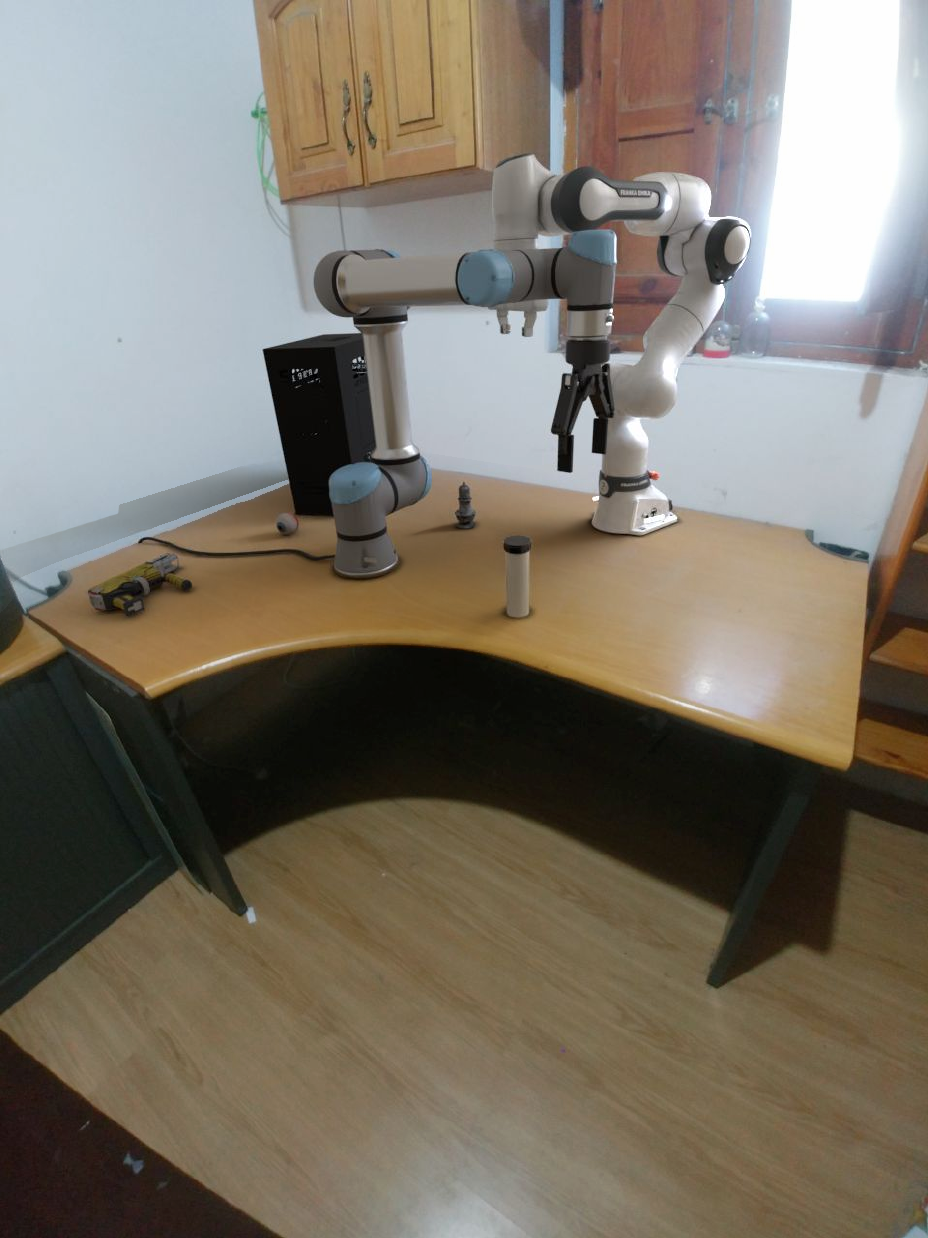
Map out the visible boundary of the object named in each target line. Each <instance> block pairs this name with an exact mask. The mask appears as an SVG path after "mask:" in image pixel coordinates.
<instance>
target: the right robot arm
mask: <svg viewBox="0 0 928 1238" xmlns="http://www.w3.org/2000/svg"><path fill="white" fill-rule="evenodd" d="M711 200H712V194H711V189H710V186H709V185H708V183H707V182H706V181H705V180H704V179H703V178H701V177H698V176H695V175H692V174H689V173H682V172H675V171H673V172H672V171H660V172H659V171H658V172H651V173H646V174H641V175H640V176H637V177H635V178H633V179H632V180H624V179H623V180H621V179H613V178H610V177H609V176H607V175H606V174H604V173H603V172H601V171H600V170H599V169H596V168H594V167H592V166H585V165H584V166H579V167H577V168H575V169H573V170H569V171H568V172H566V173H565V172H564V173H562V174H559V175H558V174H556V173H554V172H552V171H551V170H549V169H547V168H546V167H545V166H543V165H542V163H540V161H539V160H538V159H537V157H536V156H535V153H531V152H525V153H520V154H517V155H513V156H509V157H507V158H504V159H501V160H500V161H499V162H497V164H496V165H495V167H494V170H493V174H492V183H491V216H492V220H493V227H494V228H493V235H492V249H493V250H525V249H539V236H542V237H546V238H547V237H549V238H550V237H557V236H558V237H560V236H566V235H567V236H568V235H571V234H572V233H573V232H578V231H586V230H598V228H600V227H602V226H603V225H605V224H606V223H608V222H623V224H624V226H625V227H626V230H628V232H629V233H631V234H634V235H639V236H645V237H658V242H657V248H656V259H657V264H658V267H659V269H660V270H661V271H662V272H663V273H664V274H666V275H669V276H672V277H682V279H681V283H680V285H679V287H678V289H677V291H676V292H675V294H674V295H673V296H672V297H671V298H670V300H669V301H668V302H667V303H666V305H665V306H664V307H663V308H662V310H661V311H660V313H659V314H658V315H657V316H656V318H655V319H654V320H653V322H652V323H651V324H650V326H649V327H647V330H646V331H645V332H644V335H643V337H642V345H643V350H644V351H643V353H642V356H641V358H640V359H639V360H638V361H637V363H635V364H625V363H619V362H615V363H614V362H613V363H609V364H610V379H611V386H612V393H613V399H614V406H615V411H614V417H613V418H608V432H607V447H606V454H601V468H600V470H599V474H598V492H599V493H598V496H593V497H592V500H593V501H597V502H596V507H595V511H594V514H593V517H592V520H591V525H592V526H593V527H594V528H595V529H597V530H599V531H601V532H605V533H611V534H623V535H625V534H626V535H632V536H633V535H634V536H645V535H646V534H650V533H652V532H654V531H657V530H660V529H662V528H665V527H668V526H670V525H672V524H675V523H677V522H678V516H677V515H676V514H675V513H674V512H672V511H673V507H674V506H673V500H671V499H670V498H668V497H667V496H666V495H665V494H664V493H663V492H661V491H660V490H659V489H658V488H656V487H655V486H654V485H652V483H651V480H653V481H658V479H659V478H660V473H659V472H657V471H654V470H651V471H649V470H648V469H647V466H648V458H649V457H648V455H649V446H650V441H649V437H648V435H647V434H646V432H645V431H644V429H643V427H642V424H641V420H656V419H662V418H664V417H666V416H667V415H669V413H670V412H671V411H672V410H673V408H674V406H675V405H676V402H677V399H678V395H679V389H678V388H679V387H678V383H677V377H678V373H679V371H680V368H681V366H682V365H683V363H684V361H685V359H686V358H687V357H688V355H689V354H690V353H691V352H692V350H693V348H694V347H695V346H696V345H697V343H698V342H699V340H701V338H702V337H703V336H704V335H705V333H706V331H707V330H708V328H709V327H710V325H711V324H712V322H713V321H714V319H715V318H716V316H717V315H718V313H719V311H720V309H721V307H722V305H723V303H724V300H725V288H724V285H725V284H727V283H729V282H730V281H732V280H733V279H734V278H735V275H736V274H737V271H738V270H739V269H740V268H741V267H742V265H743V263H744V262H745V260H746V258H747V256H748V254H749V252H750V249H751V243H752V231H751V228H750V225H749V224H748V223H747V222H746V221H745V220H743V219H741V218H738V217H736V216H724V217H710V215H709V210H710V207H711ZM549 303H550V299H544V300H532V301H524V302H516V303H507V304H500V305H496V306H493V307H487V309H488V310H492V311H496V318H497V321H498V323H499V324H498V325H499V333H500V335H510V334H511V324H509V318H508V316H509V312H523V318H524V323H523V326H522V327H521V336H522V337H523V338H531V337H533V335H534V326H535V324H536V320H537V318H538V316H537V315H538V314H537V313H540V312H546V311H547V310H548V308H549V307H548V306H549ZM608 406H609V404H608Z"/></svg>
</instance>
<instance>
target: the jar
mask: <svg viewBox="0 0 928 1238" xmlns="http://www.w3.org/2000/svg"><path fill="white" fill-rule="evenodd" d="M504 554H505V557H504V558H505V560H504V561H505V604H506V605H505V606H506V607H505V609H506V610H505V611H506V614H507V616H508V617H511V618H515V619H517V618H518V619H520V618H525V617H527V616H528V615H529V614H530V551H528V552H526V553H522V554H511V553H508V552H506V551H504Z"/></svg>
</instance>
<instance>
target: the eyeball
mask: <svg viewBox="0 0 928 1238" xmlns="http://www.w3.org/2000/svg"><path fill="white" fill-rule="evenodd" d="M299 525H300V522H299V519H298V517H297V516H296V515H295V513H292V512H287V511H286V512H282V513H280V514H279V515H278V516H277V517H276V520H275V527H276V529H277V530H278V531H279V532H280V533H281V534H282V535H285V536H286V535H287V536H289V535H293V534H295V533H296V532H297V531H298V529H299Z"/></svg>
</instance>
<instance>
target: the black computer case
mask: <svg viewBox="0 0 928 1238" xmlns="http://www.w3.org/2000/svg"><path fill="white" fill-rule="evenodd" d="M262 354H263V359H264V364H265V369H266V373H267V378H268V384H269V389H270V395H271V399H272V404H273V409H274V414H275V418H276V423H277V429H278V434H279V439H280V443H281V449H282V453H283V459H284V463H285V464H284V465H285V468H286V473H287V478H288V483H289V484H288V485H289V488H290V493H291V500H292V503H293V508H294V515H295V514H296V515H315V516H318V515H319V516H334V514H333V509H332V503H331V499H330V496H329V492H330V490H329V479H330V477H331V475H332V474H333V473H334V472H335V471H336V470H338V469H339V468H341V467H344V466H346V465H350V464H355V463H360V462H369V463H372V461H371V452H372V451H373V450H374V448H375V447H376V442H375V434H374V426H373V418H372V410H371V402H370V394H369V386H368V378H367V370H366V362H365V354H364V346H363V338H362V334H361V332H358V333H357V332H353V333H352V332H351V333H349V332H348V333H325V334H320V335H315V336H310V337H307V338H303V339H299V340H295V341H290V342H286V343H282V344H278V345H274V346H269V347H266V348H262ZM359 358H360V360H359ZM354 360H356V362H354Z"/></svg>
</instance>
